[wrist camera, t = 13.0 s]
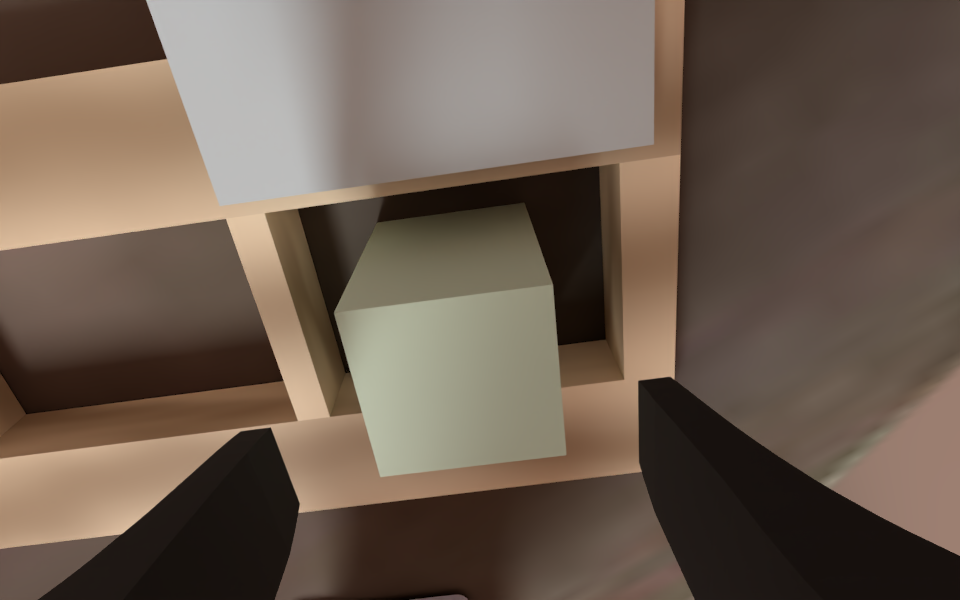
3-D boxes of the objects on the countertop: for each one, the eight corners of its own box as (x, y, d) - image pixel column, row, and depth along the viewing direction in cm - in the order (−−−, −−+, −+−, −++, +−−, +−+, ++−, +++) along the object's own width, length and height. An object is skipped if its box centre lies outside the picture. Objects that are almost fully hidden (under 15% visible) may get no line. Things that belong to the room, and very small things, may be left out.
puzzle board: (649, 421, 20) (671, 468, 18) (37, 496, 21) (-12, 550, 19) (651, -245, 12) (693, -308, 10) (-349, -77, 13) (-515, -100, 11)
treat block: (536, 331, 18) (566, 455, 13) (405, 347, 18) (380, 477, 13) (524, 202, 16) (552, 284, 11) (377, 222, 16) (333, 312, 11)
